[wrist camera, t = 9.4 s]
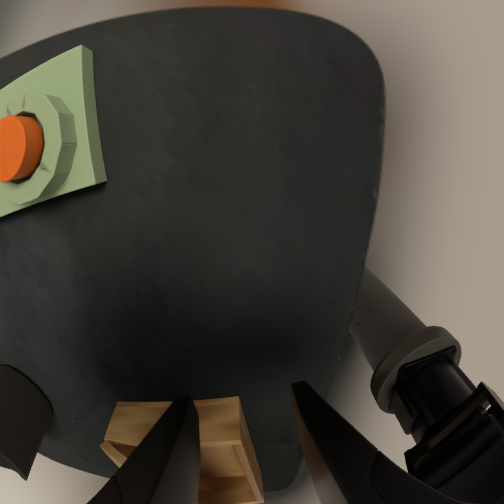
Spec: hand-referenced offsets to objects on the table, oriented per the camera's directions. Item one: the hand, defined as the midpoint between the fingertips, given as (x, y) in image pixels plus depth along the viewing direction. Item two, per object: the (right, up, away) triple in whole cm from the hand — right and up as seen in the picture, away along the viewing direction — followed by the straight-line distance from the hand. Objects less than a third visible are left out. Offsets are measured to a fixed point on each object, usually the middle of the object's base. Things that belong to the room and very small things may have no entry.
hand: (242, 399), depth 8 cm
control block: (-15, +12, +7) cm, 20 cm away
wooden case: (-5, -16, +17) cm, 24 cm away
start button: (-13, +10, +4) cm, 17 cm away
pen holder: (-26, -12, +14) cm, 32 cm away
